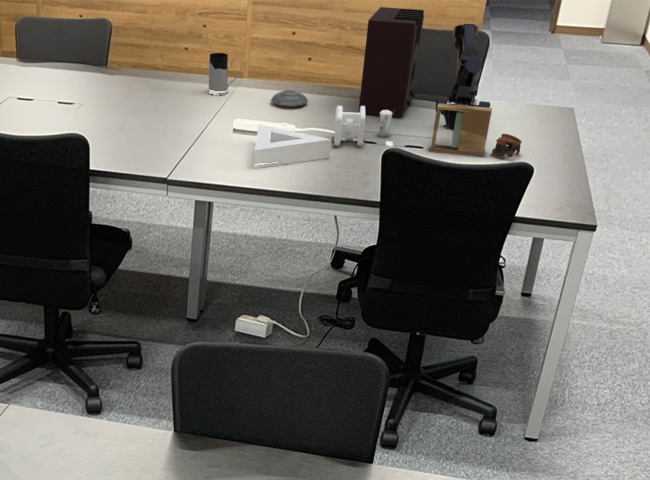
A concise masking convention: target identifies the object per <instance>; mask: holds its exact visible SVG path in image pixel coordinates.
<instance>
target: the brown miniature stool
mask: <svg viewBox="0 0 650 480" xmlns="http://www.w3.org/2000/svg"><path fill="white" fill-rule="evenodd" d="M495 142H496V143H495V146H494V147H493V148H492V150H491V154H490V155H491V156H494V157H497V158H499V159H502V160H504V158H505V156H507V158H511V157H513V155H514V154H515V155H516V156H517V155H520V152H521V144H522V140H521V139H519V138H518V137H517V136H514V135H512V134H507V133H502V134H501V136H500V137H498V138H497V139H496V141H495Z"/></svg>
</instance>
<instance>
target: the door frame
mask: <svg viewBox="0 0 650 480" xmlns="http://www.w3.org/2000/svg"><path fill="white" fill-rule="evenodd" d="M441 110H452V111H463V112H464V116H463V122H462V127H461V133H460V139H459V145H458V148H454V147H451V145H450V144H449V145H448V144H439V143H437V136H438V130H439V125H440V124H439V123H440V118H441V113H440V112H441ZM492 112H493V107H490V108H486V107H475V106H464V105H453V104H442V103H439V104H438V106H437V111H436V110H435V119H434V125H433V131H432V138H431V144H430V148H429V152H431V153H433V152H434V153H443V154H451V155H452V154H453V155H461V156H471V157H482V158H484V157H485V154H486V146H487V145H486V144H487V139H488V133H489V128H490V122H491V118H492Z"/></svg>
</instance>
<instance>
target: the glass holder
mask: <svg viewBox="0 0 650 480" xmlns="http://www.w3.org/2000/svg"><path fill="white" fill-rule="evenodd" d="M235 60H239V61H240V69H239V72H238V74H237V75H236V76H235V77H234V78H233V79H232V80H231V81H230V82H229V83H228V80H229V79H228V77H229V75H228V74H229V70H230V69H232V68H233V63H234V61H235ZM228 62H229V54H227V53H225V52H213V53H210V54H209V60H208V90H209V89H210V90H214V91H226V90H227V92H225V93H218V94H219V95H223V96H227V95H229V90H228V89H229V86H230V85H231V84H232V83H233V82H234V81H235V80H236V79H237V78H238V77H239V76H240V74H241V71H242V69H243V61H242V59H241V58H240V57H234V58H233V59H232V60H231V63H230V67H228V66H229V65H228ZM226 94H227V95H226ZM216 95H217V94H216Z"/></svg>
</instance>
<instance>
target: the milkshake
mask: <svg viewBox="0 0 650 480" xmlns="http://www.w3.org/2000/svg"><path fill="white" fill-rule="evenodd" d="M393 112H394V111H393ZM392 114H393V113H392V112H391V111H389V110H382V111H381V112H380V115H379V123H378V124H379V126H378V136H379V137H381V138H387V137H388V136H389V132H390V128H391V121H392V118H393V116H392Z"/></svg>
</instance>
